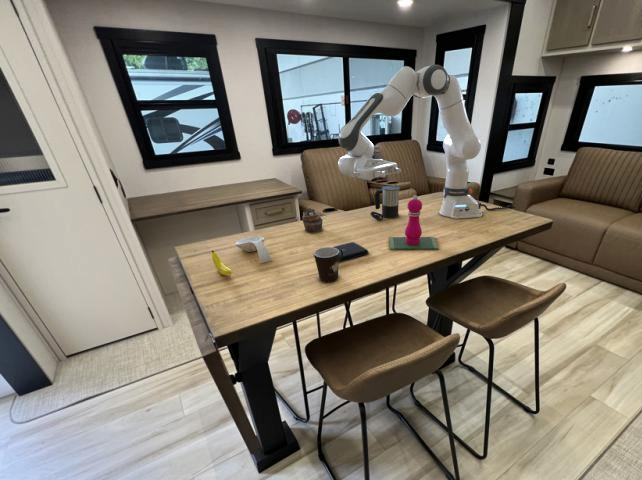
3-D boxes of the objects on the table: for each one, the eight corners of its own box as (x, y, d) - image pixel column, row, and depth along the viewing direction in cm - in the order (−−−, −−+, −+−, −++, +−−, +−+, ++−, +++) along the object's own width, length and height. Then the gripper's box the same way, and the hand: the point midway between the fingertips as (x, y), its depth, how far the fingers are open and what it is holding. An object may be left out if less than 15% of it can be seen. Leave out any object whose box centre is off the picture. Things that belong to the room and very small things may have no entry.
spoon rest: (233, 248, 137) (229, 232, 133) (260, 241, 143) (257, 226, 139) (252, 267, 121) (248, 249, 117) (281, 259, 127) (278, 242, 123)
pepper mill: (400, 242, 137) (402, 195, 126) (410, 238, 141) (413, 192, 131) (414, 247, 133) (417, 198, 122) (424, 242, 137) (428, 195, 127)
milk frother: (400, 213, 174) (401, 185, 166) (395, 222, 161) (396, 193, 153) (375, 212, 177) (374, 185, 169) (368, 221, 164) (368, 192, 156)
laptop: (312, 251, 132) (312, 247, 131) (357, 243, 139) (357, 239, 138) (323, 266, 120) (323, 261, 119) (371, 257, 127) (371, 252, 125)
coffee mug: (321, 286, 107) (318, 259, 102) (313, 276, 114) (310, 250, 108) (352, 278, 112) (351, 252, 106) (342, 268, 118) (341, 243, 113)
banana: (229, 284, 109) (225, 268, 106) (212, 266, 122) (208, 251, 118) (238, 282, 111) (233, 265, 108) (220, 264, 123) (216, 249, 120)
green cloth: (434, 238, 142) (434, 236, 142) (438, 249, 131) (438, 248, 131) (389, 238, 143) (389, 237, 143) (390, 249, 132) (390, 248, 132)
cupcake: (318, 234, 150) (316, 213, 144) (300, 232, 152) (297, 211, 147) (326, 227, 157) (325, 207, 152) (309, 225, 160) (307, 206, 154)
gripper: (350, 164, 129) (375, 168, 121) (382, 158, 142) (407, 161, 134) (351, 180, 133) (376, 185, 125) (382, 173, 145) (406, 176, 137)
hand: (392, 172), depth 130 cm, fingers open, 8 cm apart
